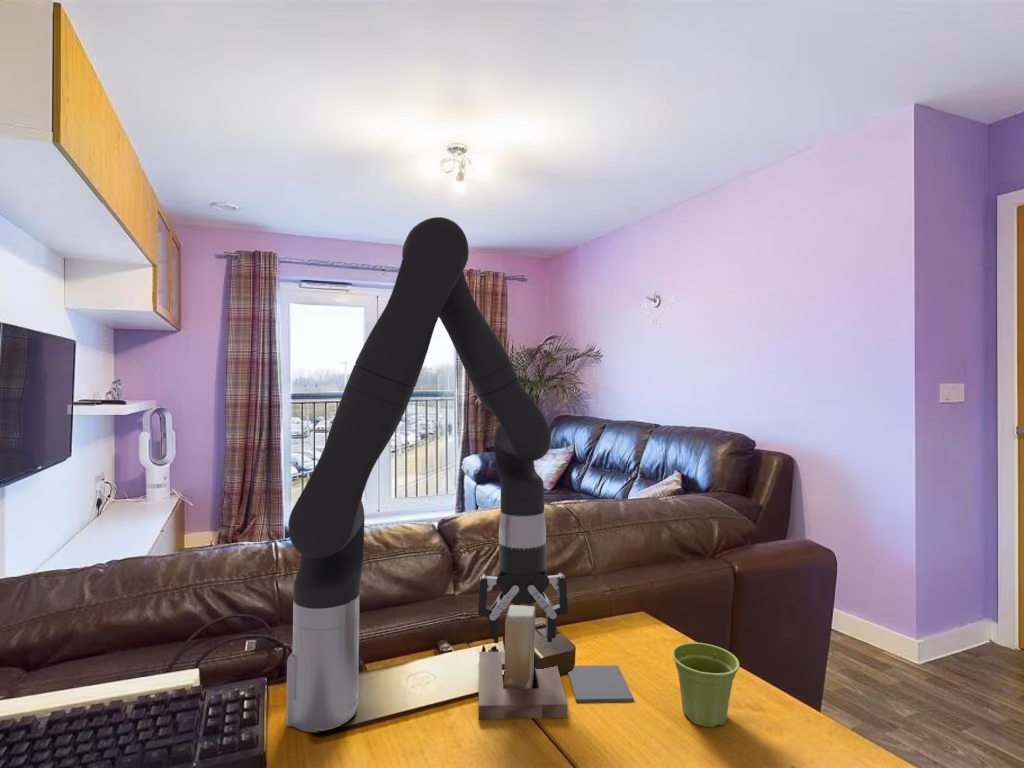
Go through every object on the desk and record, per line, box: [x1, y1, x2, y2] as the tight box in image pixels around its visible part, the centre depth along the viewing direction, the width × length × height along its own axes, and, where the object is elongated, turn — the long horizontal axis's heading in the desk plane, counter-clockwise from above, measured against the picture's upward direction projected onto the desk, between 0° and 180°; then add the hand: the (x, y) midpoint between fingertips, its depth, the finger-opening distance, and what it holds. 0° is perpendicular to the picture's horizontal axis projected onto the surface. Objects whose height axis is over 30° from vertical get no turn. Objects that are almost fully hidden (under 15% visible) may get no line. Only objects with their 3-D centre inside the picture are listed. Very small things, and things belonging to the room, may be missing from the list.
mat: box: [567, 664, 635, 703], centre depth 89 cm, size 9×10×1 cm
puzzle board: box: [478, 651, 568, 720], centre depth 87 cm, size 13×16×2 cm
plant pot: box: [671, 642, 740, 728], centre depth 81 cm, size 9×9×9 cm
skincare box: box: [503, 604, 536, 689], centre depth 87 cm, size 6×4×12 cm
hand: (522, 640), depth 87 cm, fingers open, 8 cm apart
